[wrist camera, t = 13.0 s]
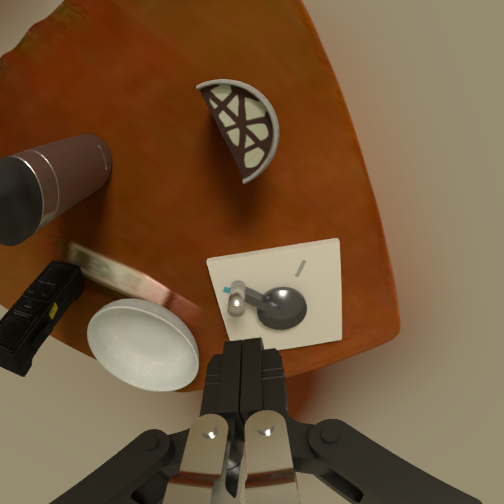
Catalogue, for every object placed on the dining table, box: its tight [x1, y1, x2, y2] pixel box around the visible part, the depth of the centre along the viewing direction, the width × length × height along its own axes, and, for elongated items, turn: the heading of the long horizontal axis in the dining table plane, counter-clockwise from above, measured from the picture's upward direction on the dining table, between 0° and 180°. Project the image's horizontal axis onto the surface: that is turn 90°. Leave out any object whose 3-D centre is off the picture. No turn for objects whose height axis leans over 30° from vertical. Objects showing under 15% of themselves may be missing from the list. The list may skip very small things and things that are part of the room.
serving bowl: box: [87, 299, 199, 392], centre depth 50 cm, size 21×21×7 cm
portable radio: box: [0, 261, 83, 377], centre depth 37 cm, size 8×6×25 cm
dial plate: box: [207, 238, 342, 350], centre depth 49 cm, size 20×20×1 cm
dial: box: [227, 280, 307, 330], centre depth 45 cm, size 13×8×6 cm, turn 60°
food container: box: [196, 79, 279, 184], centre depth 33 cm, size 12×6×10 cm, turn 24°
